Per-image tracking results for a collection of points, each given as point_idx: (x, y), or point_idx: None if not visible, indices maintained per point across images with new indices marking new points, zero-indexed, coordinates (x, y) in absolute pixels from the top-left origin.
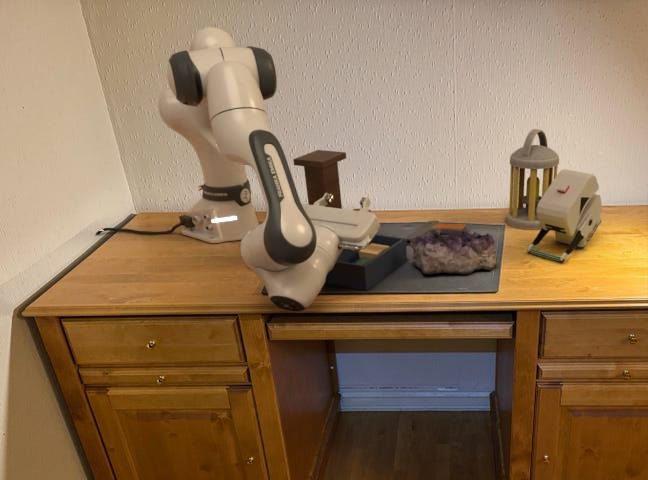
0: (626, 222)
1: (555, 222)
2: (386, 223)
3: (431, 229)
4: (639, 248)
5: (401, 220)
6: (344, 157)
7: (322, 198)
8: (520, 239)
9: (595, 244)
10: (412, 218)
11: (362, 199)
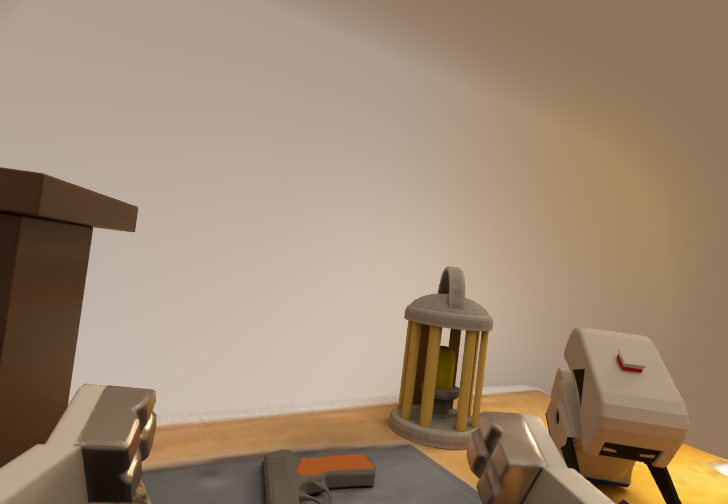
0: None
1: (650, 439)
2: None
3: (304, 481)
4: (672, 470)
5: (175, 456)
6: (131, 224)
7: (47, 453)
8: None
9: None
10: (200, 447)
11: (508, 432)
